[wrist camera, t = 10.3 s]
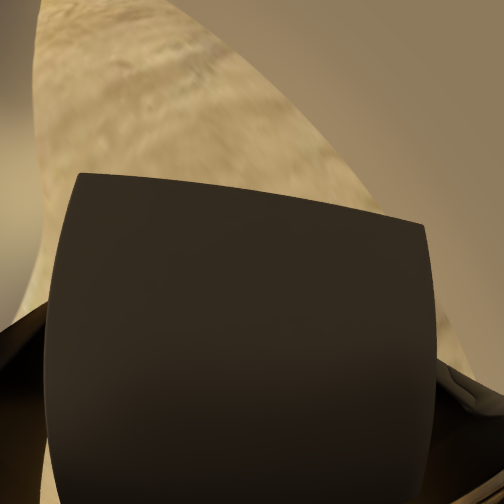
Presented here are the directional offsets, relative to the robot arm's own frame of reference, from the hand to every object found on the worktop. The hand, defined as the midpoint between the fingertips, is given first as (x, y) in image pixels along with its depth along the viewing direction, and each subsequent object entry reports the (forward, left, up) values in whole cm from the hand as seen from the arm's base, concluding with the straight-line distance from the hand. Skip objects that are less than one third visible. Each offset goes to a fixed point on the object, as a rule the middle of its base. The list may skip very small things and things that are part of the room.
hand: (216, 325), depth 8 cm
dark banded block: (-1, 0, -8) cm, 8 cm away
